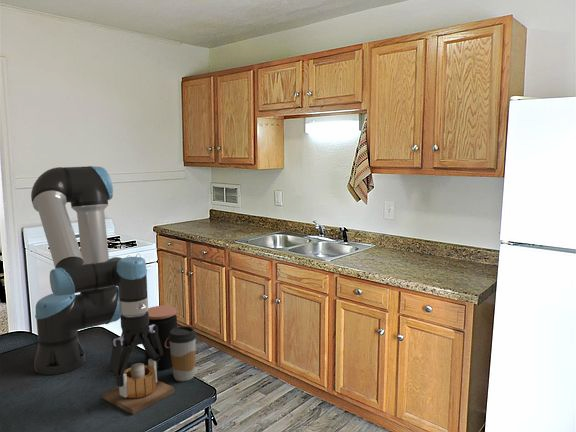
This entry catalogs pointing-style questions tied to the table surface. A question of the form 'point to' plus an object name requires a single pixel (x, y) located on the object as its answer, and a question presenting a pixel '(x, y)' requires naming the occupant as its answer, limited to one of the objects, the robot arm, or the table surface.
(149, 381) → the orange ring
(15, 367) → the table surface
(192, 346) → the coffee cup
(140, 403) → the post block
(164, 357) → the coffee jar
